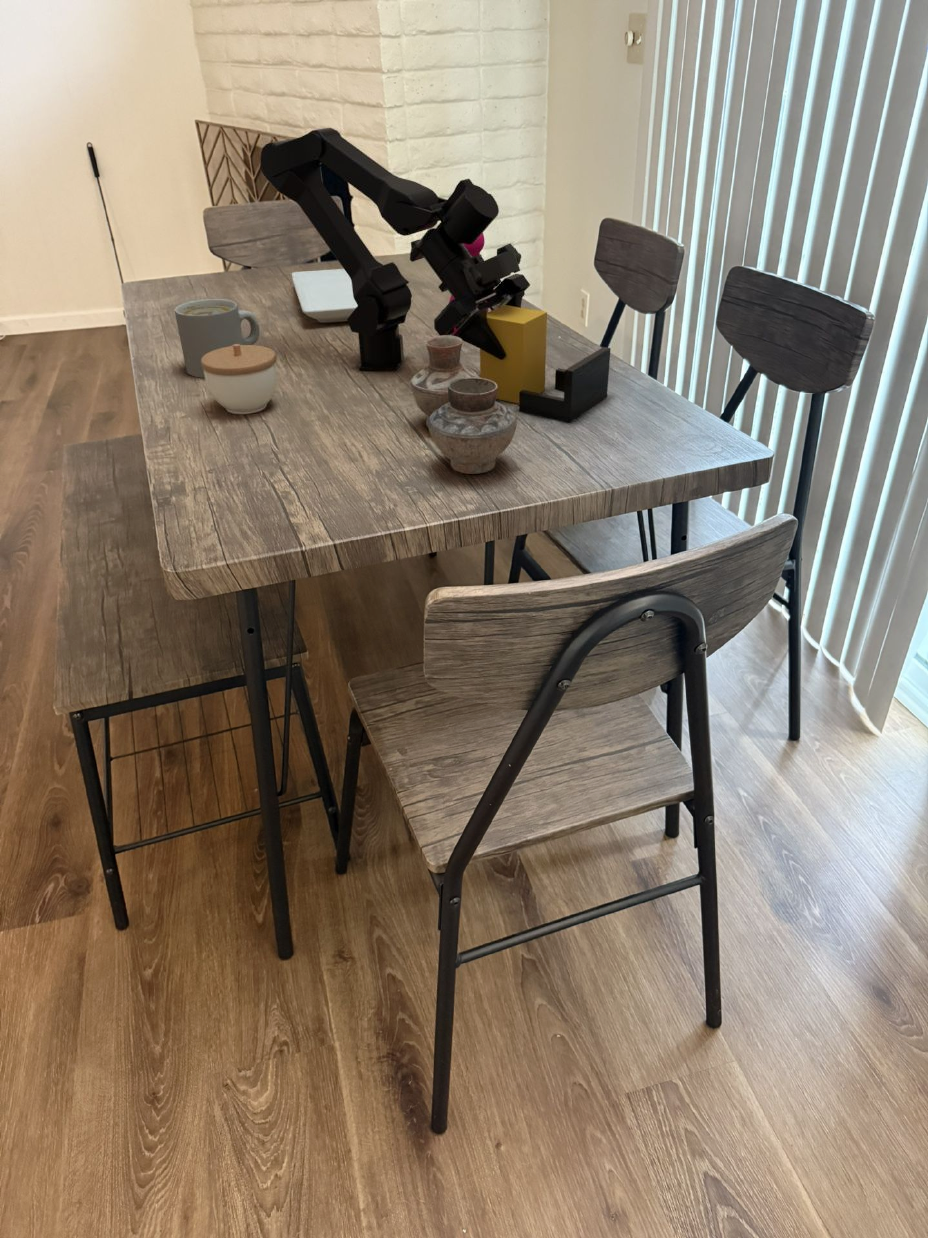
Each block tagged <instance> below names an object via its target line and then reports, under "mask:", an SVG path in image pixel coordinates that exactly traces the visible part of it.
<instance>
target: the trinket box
mask: <svg viewBox="0 0 928 1238" xmlns="http://www.w3.org/2000/svg"><path fill="white" fill-rule="evenodd" d="M201 364H202V368H203V370H204V375H205V378H204V380H205V382H206V386H207V388H208V390H209V393H210V395H211V396H212V398H213V399H214V400H215V401H216V402H217V404H219V405H220V406H222V407H223V408H225V410H226V411H227V412H228V413H230V414H234V415H249V414H254V413H258V412H261V411H263V410H265V409H266V408H267V407H268V403H269V402H270V401H271V400H272V398H273V397H274V395H275V393H276V390H277V383H278V369H277V356H276V352H275V351H274V350H273V349H271V348H269V347H267V346H262V345H258V344H257V345H256V344H253V345H240V344H234V345H233V346H229V347H224V348H220V349H216V350H214V351H211V352H209V353H207V354H205V355H204V356H203V357H202V359H201Z"/></svg>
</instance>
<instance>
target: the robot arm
mask: <svg viewBox="0 0 928 1238" xmlns="http://www.w3.org/2000/svg"><path fill="white" fill-rule="evenodd" d="M259 164H260V165H259V167H260V170H261V173H262V175H263V177H264V178H265V179H266V180H267V181H268V182H269V183H270V185H271V186H272V187H273V188H274V189H275V190H276V191H277V192H278V193H280V194H281V195H282V196H285V197H286V198H288V199H290V200H291V201H293V202H294V203H296V204H297V205H298V206H299V207H300V209H301V211H303V213H304V214H305V216H306V217H307V219H308V220H309V221H310V223H311V224H312V225H313V227H314V228H315V230H316V231H317V233H318V234H319V236H320V238H322V240H323V241H324V243H325V245H326V246H327V247H328V248H329V250H330V251H331V253H332V254H333V255H334V257H335V258H336V260H337V261H338V262H339V264H340V266H341V267H342V269H344V270H345V271H346V272H347V274H348V275H349V277H350V279H351V282H352V290H353V297H354V300H355V301H356V303H357V305H358V306H357V307H356V309H355V310H354V311H353V312H352V314H351V315H350V316H349V317H348V319H347V320H348V321H347V323H348V326H349V329H350V331H351V333H356V334H358V346H359V359H360V363H359V364H358V367H357V368H358V370H360V371H397V370H399V367H400V365H401V364H402V363H403V361H404V359H405V355H404V352H405V351H404V338H403V337H404V335H403V334H402V333H400V329H399V327H400V326H399V325H401V324H405V322H406V318H407V314H408V312H409V311H410V310H411V307H412V297H413V294H412V291H411V289H410V287H409V286H408V284H409V283H410V281H409V280H408V279H406V278H405V277H404V276H403V275H402V273H401V271H400V269H399V268H398V265H396V264H395V262H393V261H391V262H388V263H385V264H383V263H381V262H379V261H378V260H376V258H375V257H374V255H373V254H372V253H371V251H370V250H369V248H368V247H367V245H366V244H365V243H364V241H363V239H362V238H361V236H360V235H359V234H358V232H357V231H356V229H355V228H354V226H353V225H352V224H351V223H350V221H349V219H348V218H347V217H346V216H345V214H344V213H343V211H342V210H341V208H340V207H339V205H338V204H337V202H336V201H335V200H334V199H333V197H332V195H331V194H330V193H329V191H328V190H327V188H326V187H325V185H324V183H323V182H324V181H323V176H322V167H321V164H322V165H323V166H325V167H326V168H328V169H329V170H330V171H332V172H333V173H335V175H337V176H339V177H340V178H341V179H342V180H344V181H345V182H347V183H348V184H349V185H350V186H352V187H353V188H354V189H356V190H357V191H358V192H359V193H361V194H363V195H364V196H365V197H366V198H368V199H369V200H370V201H371V202H373V203H374V204H375V206H376V207H377V209H378V212H379V215H380V216H381V218H382V219H383V220H384V221H385V222H386V224H388V225H389V227H390V228H391V229H392V230H394V232H395V233H397V234H398V235H400V236H403V237H406V236H410V235H414V234H417V233H420V232H423V231H426V230H427V231H426V232H425V233H424V234H423V235H422V237H421V238H418V239H415V240H413V241H411V242H410V253H409V260H410V262H413V263H414V262H416V261H419V260H422V259H424V260H425V262H427V264H428V265H429V267H430V268H431V269H432V271H433V272H434V273H435V274H436V276H437V277H438V279H439V280H440V281H441V283H440V284H439V285H438V289H439V290H440V292H441V293H445V292H447V291H448V292H449V294H450V296H451V295H452V296H453V298H454V300H452V301H450V300H449V301H450V303H449V302H448V303H447V305H446V306H445V307H444V308H443V309H442V310H441V312H439V314H438V315H437V316H436V317H435V318H434V319H433V321H434V322H433V323H434V324H433V326H434V331H436V333H437V334H438V336H443V335H450V336H456V337H459V338H461V339H462V341H463V342H465V343H467V344H469V345H471V346H474V347H476V348H477V349H479V350H480V349H481V350H483V351H485V352H487V353H489V354H491V355H493V356H495V357H496V358H498V359H500V360H502V359H504V358H505V357H506V353H505V351H504V349H503V347H502V345H501V344H500V342H499V341H498V339H497V337H496V336H495V334H494V333H493V331H492V329H491V328H490V326H489V325H488V323H487V311H486V309H488V310H490V311H492V310H494V309H497V308H499V307H501V306H503V305H507V306H513V307H519V308H522V303H523V297H525V295H526V293H525V292H526V290H527V289H529V288H530V286H531V284H530V282H529V281H528V280H527V278H526V276H525V275H524V274H522V273H518V272H521V267H520V266H519V265H520V264H521V260H522V254H521V253H520V252H519V251H518V250H517V248H516V247H515V246H514V245H512V243H508V244H505V245H503V246H501V247H499V248H497V249H496V255H494V256H492V257H490V258H487V259H484V258H483V256H482V257H481V256H479V255H476V256H474V257H472V256H471V254H470V253H469V252H468V250H467V249H466V248H465V246H464V245H463V243H464V244H473V243H474V242H475V241H476V240H477V239H478V238H479V236H480V235H481V234H482V233H483V234H484V232H485V231H486V230H487V228H488V227H489V226H490V225H491V224H492V223H493V221H494V220H495V219H496V218H497V217H498V216H499V213H500V209H499V205H498V203H497V201H496V199H495V198H494V196H493V195H492V194H491V193H488V191H486V190H485V189H484V188H483V187H481V186H480V185H476V184H474V183H473V181H472V180H471V179H470V178H466V179H465V178H464V179H461V180H459V182H458V183H457V184H456V186H455V188H454V189H453V192H452V193H451V194H450V196H448V198H447V199H446V198H443V197H440V196H438V194H437V193H436V192H435V191H434V190H433V189H431V188H430V187H427V186H425V185H424V184H421V183H418V182H417V181H414V180H409V179H407V178H403V177H399V176H397V175H395V174H393V173H392V172H390V171H389V170H387V169H386V168H385V167H384V166H382V165H381V164H379V163H378V162H377V161H375V160H374V159H373V158H371V157H370V156H369V155H367V154H366V153H365V152H363V151H362V150H360V149H359V148H358V147H356V146H355V145H354V144H352V142H350V141H349V140H347V139H345V138H344V137H343V136H342V135H341V133H340V131H338V130H337V129H335V128H332V127H324V128H318V129H313V130H310V131H309V132H308V133H306V134H304V135H301V136H299V137H297V138H291V139H284V140H278V141H272V142H268V143H266V144H264V146H263V147H262V149H261V152H260V159H259ZM438 222H439V224H438ZM436 225H437V226H436ZM435 226H436V227H435ZM486 301H487V302H486ZM455 325H456V326H455ZM454 326H455V328H456V329H457V332H456V333H455V334H454V335H453V333H454Z"/></svg>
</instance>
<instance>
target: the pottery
mask: <svg viewBox="0 0 928 1238" xmlns="http://www.w3.org/2000/svg"><path fill="white" fill-rule="evenodd" d="M463 342H464V341H463V340H462V339H461V338H459V337H456V336H453V335H443V336H439V335H436V336H431V337H429V338H427V339H426V340H425V346H426V350H427V353H428V359H429V365H427V366H425V367H424V368H423V369H421V370H420V371H418V372H417V373H416V374H415V375H413V377H412V378H411V379H410V381H409V386H410V389H411V392H412V395H413V398H414V400H415V404H416V405H417V406H418V408H419V410H421V412H422V413H423V414H424V415H425V416H427V418H426V422H425V425H426V427H427V428H428V430H429V434H430V436H431V438H432V441H433V442H434V444H435V446H436V447H437V448H438V449H439V451H440V452H441V453H442V454H443V455H444V456H445V457H446V458H448V459H449V460H450V467H451V468H452V469H453V470H454V471H456V472H458V473H462V474H469V475H471V474H472V475H475V474H476V475H477V474H485V473H487V472H490V471H492V470H493V469H494V468H495V466H496V458H498V457H500V456H501V455H502V454H503V453H504V452H505V451H506V449H507V448H508V447H509V446H510V444H511V442H512V441H513V438H514V436H515V433H516V429H517V424H518V417H517V415H516V413H515V411H513V410H512V409H510V408H509V407H507V406H506V405H504V404H502V403H500V402H498V401H496V400H497V399H496V397H497V387H498V386H497V384H496V383H495V382H493V381H491V380H488V379H484V378H480V375H478V373H476V372H475V371H474V370H472V369H471V368H469V367H468V366H466V365H464V364H462V363H461V351H462V348H463Z"/></svg>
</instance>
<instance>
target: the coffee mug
mask: <svg viewBox="0 0 928 1238" xmlns="http://www.w3.org/2000/svg"><path fill="white" fill-rule="evenodd" d="M174 315H175V319H176V325H177V331H178V335H179V339H180V345H181V350H182V355H183V360H184V365H185V371H186V373H187V374H188V375H190V376H192V377H195V378H201V379H205V375H204V370H203V368H202V364H201V359H202V357H203V356H204V355H205V354H207V353H209V352H211V351H214V350H216V349H220V348H224V347H229V346H233V345H234V344H240V345H256V343H257V342H258V340H259V338H260V323H259V320H258V318H257V316H256V314H254V313H253V312H252V311H250V310H247V309H243V310H239V306H238V304H237V302H236V301H233V300H230V299H225V298H224V299H223V298H204V299H196V300H191V301H186V302H184V303H181V304H179V305H176V307H175V308H174ZM243 320H247V321H248V323H249V327H250V333H249V335H248V336H247V337H244V335H243V332H242V322H243Z"/></svg>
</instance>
